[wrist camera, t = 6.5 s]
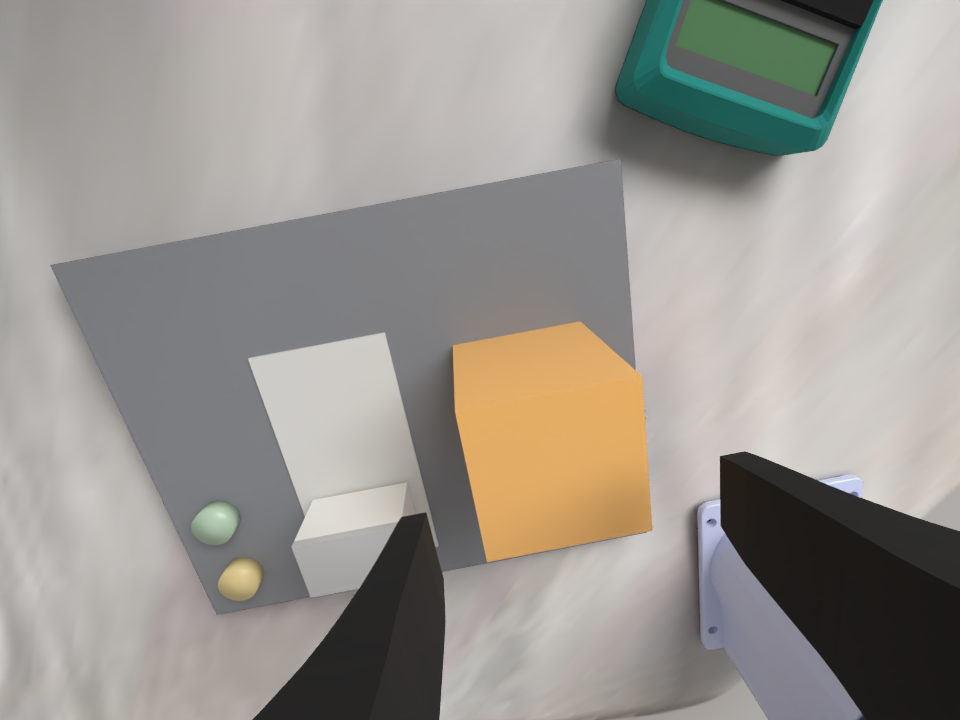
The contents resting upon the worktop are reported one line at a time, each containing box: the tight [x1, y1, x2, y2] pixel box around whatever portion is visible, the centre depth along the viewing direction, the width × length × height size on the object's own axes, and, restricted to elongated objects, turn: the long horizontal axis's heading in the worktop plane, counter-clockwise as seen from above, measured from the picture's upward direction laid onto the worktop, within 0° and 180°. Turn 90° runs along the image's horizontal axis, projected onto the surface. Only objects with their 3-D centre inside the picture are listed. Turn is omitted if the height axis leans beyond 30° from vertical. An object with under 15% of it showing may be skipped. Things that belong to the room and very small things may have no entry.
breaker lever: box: [292, 482, 415, 598], centre depth 18 cm, size 2×4×3 cm, turn 100°
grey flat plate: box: [50, 159, 647, 615], centre depth 19 cm, size 16×20×2 cm
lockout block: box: [453, 321, 652, 562], centre depth 16 cm, size 5×5×6 cm
